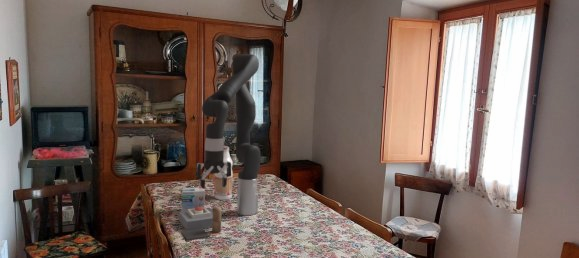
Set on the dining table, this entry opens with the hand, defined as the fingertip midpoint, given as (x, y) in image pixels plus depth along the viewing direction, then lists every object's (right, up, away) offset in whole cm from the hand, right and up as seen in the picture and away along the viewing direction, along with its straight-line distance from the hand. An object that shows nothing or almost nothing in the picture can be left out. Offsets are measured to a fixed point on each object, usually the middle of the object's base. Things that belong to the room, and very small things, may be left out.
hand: (213, 187), depth 156 cm
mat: (-7, -19, -3) cm, 20 cm away
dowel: (+1, -19, +2) cm, 19 cm away
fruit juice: (-5, -13, +49) cm, 51 cm away
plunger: (-8, -15, +10) cm, 20 cm away
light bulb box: (-15, -16, +25) cm, 33 cm away
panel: (-9, -17, +10) cm, 22 cm away
